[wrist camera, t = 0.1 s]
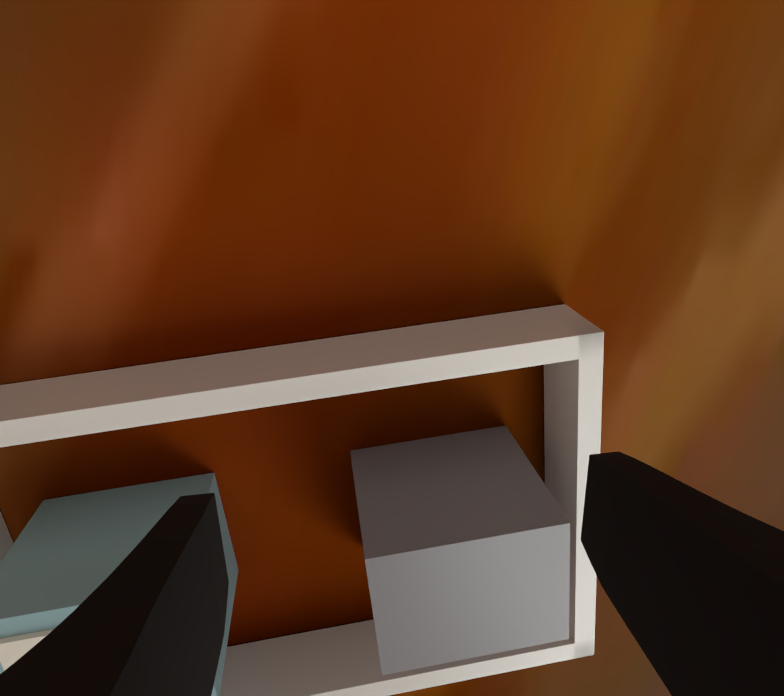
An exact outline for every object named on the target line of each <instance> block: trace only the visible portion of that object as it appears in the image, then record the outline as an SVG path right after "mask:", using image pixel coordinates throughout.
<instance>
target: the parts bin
mask: <svg viewBox="0 0 784 696" xmlns="http://www.w3.org/2000/svg"><path fill="white" fill-rule="evenodd" d="M603 349H604V331H602V330H601V329H599V328H598V327H597V326H595V325H594V324H592V323H591V322H589V321H588V320H587V319H585V318H584V317H582V316H581V315H580V314H578V313H577V312H575V311H574V310H572V309H571V308H570V307H568V306H567V305H565V304H562V305H555V306H548V307H541V308H534V309H527V310H520V311H513V312H506V313H500V314H493V315H486V316H479V317H472V318H465V319H458V320H451V321H444V322H437V323H430V324H423V325H416V326H409V327H402V328H395V329H388V330H381V331H374V332H367V333H360V334H353V335H346V336H339V337H332V338H325V339H318V340H311V341H305V342H298V343H291V344H284V345H277V346H270V347H263V348H256V349H249V350H242V351H235V352H228V353H221V354H214V355H207V356H200V357H193V358H186V359H179V360H172V361H165V362H158V363H151V364H144V365H137V366H130V367H123V368H117V369H110V370H103V371H96V372H89V373H82V374H75V375H68V376H61V377H54V378H47V379H40V380H33V381H26V382H19V383H12V384H5V385H0V447H7V446H13V445H20V444H27V443H33V442H40V441H46V440H53V439H59V438H66V437H72V436H79V435H86V434H92V433H99V432H105V431H112V430H118V429H125V428H131V427H138V426H145V425H151V424H158V423H164V422H171V421H177V420H184V419H190V418H197V417H204V416H210V415H217V414H223V413H230V412H236V411H243V410H249V409H256V408H263V407H269V406H276V405H282V404H289V403H295V402H302V401H308V400H315V399H322V398H328V397H335V396H341V395H348V394H354V393H361V392H367V391H374V390H381V389H387V388H394V387H400V386H407V385H413V384H420V383H426V382H433V381H440V380H446V379H453V378H459V377H466V376H472V375H479V374H485V373H492V372H499V371H505V370H512V369H518V368H525V367H531V366H538V365H544V451H545V486H546V487H547V489H548V490H549V492H550V493H551V495H552V496H553V498H554V499H555V501H556V502H557V504H558V505H559V507H560V508H561V510H562V511H563V513H564V514H565V516H566V517H567V519H568V520H569V522H570V590H569V639H566V640H561V641H556V642H550V643H545V644H540V645H535V646H530V647H525V648H520V649H515V650H510V651H505V652H499V653H494V654H489V655H484V656H479V657H474V658H469V659H464V660H459V661H453V662H448V663H443V664H438V665H433V666H428V667H423V668H418V669H413V670H407V671H402V672H397V673H392V674H387V675H382V671H381V664H380V658H379V651H378V644H377V638H376V631H375V624H374V619H373V620H368V621H363V622H357V623H352V624H347V625H341V626H336V627H331V628H325V629H320V630H315V631H309V632H304V633H299V634H293V635H288V636H283V637H277V638H272V639H267V640H261V641H256V642H251V643H245V644H240V645H235V646H229V647H227V650H226V657H225V663H224V670H223V677H222V684H221V690H220V696H389V695H394V694H399V693H404V692H409V691H414V690H419V689H424V688H429V687H434V686H439V685H444V684H449V683H454V682H459V681H464V680H469V679H474V678H479V677H484V676H489V675H494V674H499V673H504V672H509V671H514V670H519V669H524V668H529V667H534V666H539V665H544V664H549V663H554V662H559V661H564V660H570V659H575V658H580V657H585V656H590V655H594V639H595V607H596V573H595V571H594V569H593V567H592V565H591V562H590V560H589V558H588V556H587V553H586V551H585V549H584V547H583V545H582V542H581V530H582V521H583V511H584V501H585V492H586V482H587V472H588V463H589V455H591V454H600V445H601V413H602V381H603ZM13 544H14V543H13V540H12V538H11V536H10V533H9V531H8V528H7V526H6V524H5V521H4V519H3V516H2V514H1V512H0V562H1V561H2V560H3V558H4V557H5V555H6V554H7V552H8V551H9V549H10V548H11V547H12V545H13Z"/></svg>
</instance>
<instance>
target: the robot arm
mask: <svg viewBox="0 0 784 696" xmlns="http://www.w3.org/2000/svg"><path fill="white" fill-rule="evenodd" d="M581 542H582V545H583V547H584V549H585V551H586V553H587V556H588V558H589V560H590V562H591V565H592V567H593V569H594V571H595V573H596V575H597V577H598V579H599V581H600V583H601V585H602V587H603V589H604V590H605V592H606V594H607V595H608V597H609V598H610V600H611V602H612V603H613V605H614V606H615V608H616V610H617V611H618V613H619V614H620V616H621V617H622V619H623V621H624V622H625V624H626V625H627V627H628V628H629V630H630V631H631V633H632V635H633V636H634V638H635V639H636V641H637V642H638V644H639V645H640V647H641V648H642V650H643V652H644V653H645V655H646V656H647V658H648V659H649V661H650V662H651V664H652V666H653V667H654V669H655V670H656V672H657V673H658V675H659V676H660V678H661V680H662V681H663V683H664V684H665V686H666V687H667V689H668V690H669V692H670V694H671V695H672V696H784V531H781V530H779V529H777V528H775V527H773V526H770V525H768V524H766V523H764V522H762V521H759V520H757V519H755V518H753V517H751V516H748V515H746V514H744V513H742V512H740V511H738V510H736V509H734V508H732V507H730V506H728V505H726V504H724V503H722V502H720V501H718V500H715V499H713V498H712V497H710V496H708V495H706V494H704V493H702V492H700V491H698V490H696V489H694V488H692V487H690V486H688V485H686V484H684V483H682V482H680V481H678V480H676V479H674V478H672V477H671V476H669V475H667V474H665V473H663V472H661V471H659V470H657V469H655V468H653V467H651V466H649V465H647V464H645V463H643V462H641V461H639V460H637V459H635V458H632V457H630V456H628V455H626V454H623V453H621V452H611V453H601V454H591V455H589V463H588V472H587V482H586V492H585V501H584V511H583V521H582V530H581ZM228 586H229V579H228V573H227V567H226V561H225V555H224V548H223V542H222V536H221V530H220V524H219V517H218V511H217V505H216V499H215V493H206V494H196V495H186V496H180V497H179V498H178V499H177V500H176V501H175V503H174V504H173V505H172V506H171V507H170V508H169V509H168V510H167V511H166V513H165V514H164V515H163V516H162V517H161V518H160V519H159V521H158V522H157V523H156V524H155V525H154V526H153V527H152V529H151V530H150V531H149V532H148V533H147V534H146V535H145V537H144V538H143V539H142V540H141V541H140V542H139V543H138V545H137V546H136V547H135V548H134V549H133V550H132V551H131V552H130V553H129V554H128V556H127V557H126V558H125V559H124V560H123V561H122V562H121V563H120V564H119V565H118V566H117V568H116V569H115V570H114V571H113V572H112V573H111V574H110V575H109V576H108V577H107V578H106V579H105V580H104V581H103V582H102V583H101V584H100V585H99V586H98V587H97V588H96V589H95V590H94V591H93V592H92V593H91V594H90V595H89V596H88V597H87V598H86V599H85V600H84V601H83V602H82V603H81V604H80V605H79V606H78V607H77V608H76V609H75V610H74V611H73V612H72V613H71V614H70V615H69V616H68V617H67V618H66V619H65V620H63V621H62V622H61V623H60V624H59V625H58V626H57V627H56V628H55V629H53V630H52V631H51V632H50V633H49V634H48V635H47V636H46V637H44V638H43V639H42V640H41V641H40V642H39V643H37V644H36V645H35V646H34V647H33V648H31V649H30V650H29V651H28V652H27V653H26V654H24V655H23V656H22V657H21V658H20V659H18V660H17V661H16V662H15V663H14V664H12V665H11V666H10V667H9V668H7V669H6V670H5V671H4V672H2V673H1V674H0V696H211V695H212V690H213V686H214V681H215V676H216V671H217V667H218V662H219V657H220V652H221V648H222V643H223V638H224V631H225V620H226V610H227V598H228Z"/></svg>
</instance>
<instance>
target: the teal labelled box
mask: <svg viewBox="0 0 784 696" xmlns="http://www.w3.org/2000/svg"><path fill="white" fill-rule="evenodd" d="M206 493H215V499H216V505H217V511H218V517H219V524H220V530H221V536H222V542H223V548H224V555H225V561H226V567H227V573H228V579H229V586H228V598H227V610H226V620H225V631H224V638H223V643H222V648H221V652H220V657H219V662H218V667H217V671H216V676H215V681H214V686H213V690H212V695H211V696H220V690H221V684H222V677H223V670H224V663H225V657H226V650H227V643H228V636H229V630H230V623H231V616H232V609H233V603H234V596H235V589H236V583H237V576H238V566H237V562H236V558H235V554H234V550H233V546H232V542H231V538H230V534H229V530H228V526H227V522H226V518H225V514H224V510H223V506H222V502H221V498H220V494H219V490H218V486H217V482H216V478H215V474H214V473H208V474H202V475H195V476H189V477H183V478H177V479H171V480H164V481H158V482H152V483H146V484H140V485H133V486H127V487H121V488H115V489H109V490H102V491H96V492H90V493H84V494H77V495H71V496H65V497H59V498H53V499H46V500H43V502H42V503H41V504H40V506H39V507H38V509H37V510H36V512H35V513H34V515H33V516H32V518H31V519H30V520H29V522H28V523H27V525H26V526H25V528H24V529H23V531H22V532H21V533H20V535H19V536H18V538H17V539H16V541H15V542H14V544H13V545H12V547H11V548H10V549H9V551H8V552H7V554H6V555H5V557H4V558H3V560H2V561H1V562H0V674H1V673H2V672H4V671H5V670H6V669H7V668H9V667H10V666H11V665H12V664H14V663H15V662H16V661H17V660H18V659H20V658H21V657H22V656H23V655H24V654H26V653H27V652H28V651H29V650H30V649H31V648H33V647H34V646H35V645H36V644H37V643H39V642H40V641H41V640H42V639H43V638H44V637H46V636H47V635H48V634H49V633H50V632H51V631H52V630H53V629H55V628H56V627H57V626H58V625H59V624H60V623H61V622H62V621H63V620H65V619H66V618H67V617H68V616H69V615H70V614H71V613H72V612H73V611H74V610H75V609H76V608H77V607H78V606H79V605H80V604H81V603H82V602H83V601H84V600H85V599H86V598H87V597H88V596H89V595H90V594H91V593H92V592H93V591H94V590H95V589H96V588H97V587H98V586H99V585H100V584H101V583H102V582H103V581H104V580H105V579H106V578H107V577H108V576H109V575H110V574H111V573H112V572H113V571H114V570H115V569H116V568H117V566H118V565H119V564H120V563H121V562H122V561H123V560H124V559H125V558H126V557H127V556H128V554H129V553H130V552H131V551H132V550H133V549H134V548H135V547H136V546H137V545H138V543H139V542H140V541H141V540H142V539H143V538H144V537H145V535H146V534H147V533H148V532H149V531H150V530H151V529H152V527H153V526H154V525H155V524H156V523H157V522H158V521H159V519H160V518H161V517H162V516H163V515H164V514H165V513H166V511H167V510H168V509H169V508H170V507H171V506H172V505H173V504H174V503H175V501H176V500H177V499H178V498H179V497H180V496H186V495H196V494H206Z"/></svg>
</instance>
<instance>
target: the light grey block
mask: <svg viewBox="0 0 784 696" xmlns="http://www.w3.org/2000/svg"><path fill="white" fill-rule="evenodd" d="M350 455H351V462H352V469H353V477H354V484H355V491H356V499H357V506H358V513H359V521H360V528H361V535H362V543H363V550H364V557H365V564H366V571H367V578H368V584H369V591H370V598H371V604H372V611H373V618H374V624H375V631H376V638H377V644H378V651H379V658H380V664H381V671H382V675H387V674H392V673H397V672H402V671H407V670H413V669H418V668H423V667H428V666H433V665H438V664H443V663H448V662H453V661H459V660H464V659H469V658H474V657H479V656H484V655H489V654H494V653H499V652H505V651H510V650H515V649H520V648H525V647H530V646H535V645H540V644H545V643H550V642H556V641H561V640H566V639H569V590H570V522H569V520H568V519H567V517H566V516H565V514H564V513H563V511H562V510H561V508H560V507H559V505H558V504H557V502H556V501H555V499H554V498H553V496H552V495H551V493H550V492H549V490H548V489H547V487H546V486H545V484H544V483H543V481H542V480H541V478H540V476H539V475H538V473H537V472H536V470H535V469H534V467H533V466H532V464H531V463H530V461H529V460H528V458H527V457H526V455H525V454H524V452H523V451H522V449H521V448H520V446H519V445H518V443H517V442H516V440H515V439H514V437H513V436H512V434H511V432H510V431H509V429H508V428H507V426H500V427H493V428H487V429H481V430H475V431H469V432H462V433H456V434H450V435H444V436H438V437H431V438H425V439H419V440H413V441H406V442H400V443H394V444H388V445H382V446H375V447H369V448H363V449H357V450H351V451H350Z"/></svg>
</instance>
